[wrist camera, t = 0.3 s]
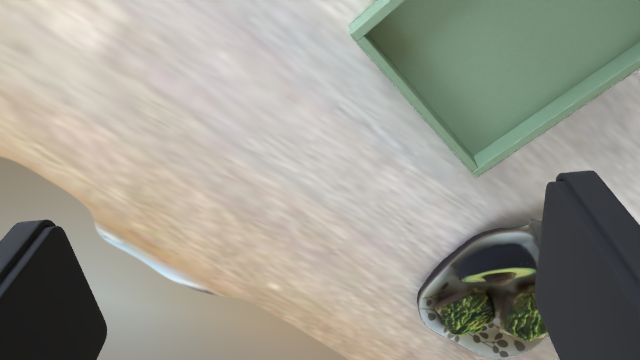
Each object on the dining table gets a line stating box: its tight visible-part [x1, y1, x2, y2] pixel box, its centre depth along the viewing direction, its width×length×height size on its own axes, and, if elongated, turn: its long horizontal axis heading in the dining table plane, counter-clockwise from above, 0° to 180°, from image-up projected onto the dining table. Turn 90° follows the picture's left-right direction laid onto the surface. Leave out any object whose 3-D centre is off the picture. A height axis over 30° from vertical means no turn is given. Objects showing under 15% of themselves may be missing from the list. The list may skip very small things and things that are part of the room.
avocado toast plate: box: [417, 219, 549, 359], centre depth 58 cm, size 19×18×5 cm
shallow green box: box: [349, 0, 640, 178], centre depth 43 cm, size 18×20×3 cm
